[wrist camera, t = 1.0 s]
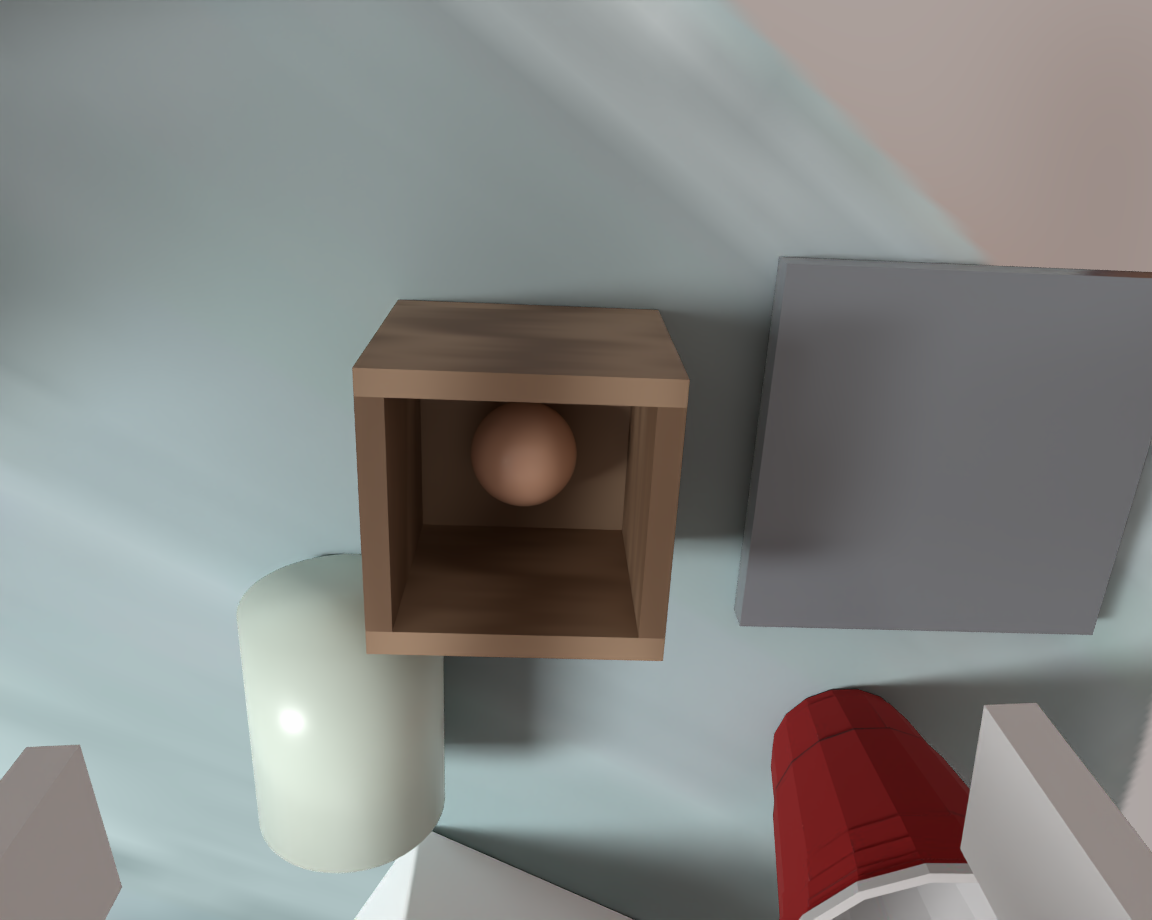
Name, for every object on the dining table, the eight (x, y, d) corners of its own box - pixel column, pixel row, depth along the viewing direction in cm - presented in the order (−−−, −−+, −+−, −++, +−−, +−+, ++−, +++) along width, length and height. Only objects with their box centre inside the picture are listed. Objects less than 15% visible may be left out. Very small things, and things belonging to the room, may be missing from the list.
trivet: (733, 609, 37) (739, 626, 36) (778, 257, 32) (787, 263, 31) (1076, 618, 38) (1092, 634, 37) (1177, 273, 32) (1199, 280, 31)
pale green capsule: (458, 747, 39) (426, 879, 33) (293, 736, 39) (229, 866, 33) (457, 559, 36) (422, 665, 29) (276, 548, 36) (202, 652, 29)
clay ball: (474, 478, 34) (466, 523, 30) (474, 384, 32) (466, 420, 29) (573, 482, 34) (575, 526, 31) (577, 388, 33) (580, 424, 29)
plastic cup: (658, 777, 40) (699, 1044, 29) (814, 594, 37) (927, 818, 26) (850, 876, 43) (955, 1156, 32) (1013, 713, 39) (1193, 963, 28)
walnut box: (404, 533, 35) (366, 653, 28) (398, 299, 32) (352, 367, 25) (639, 539, 36) (662, 660, 28) (658, 309, 32) (689, 379, 25)
